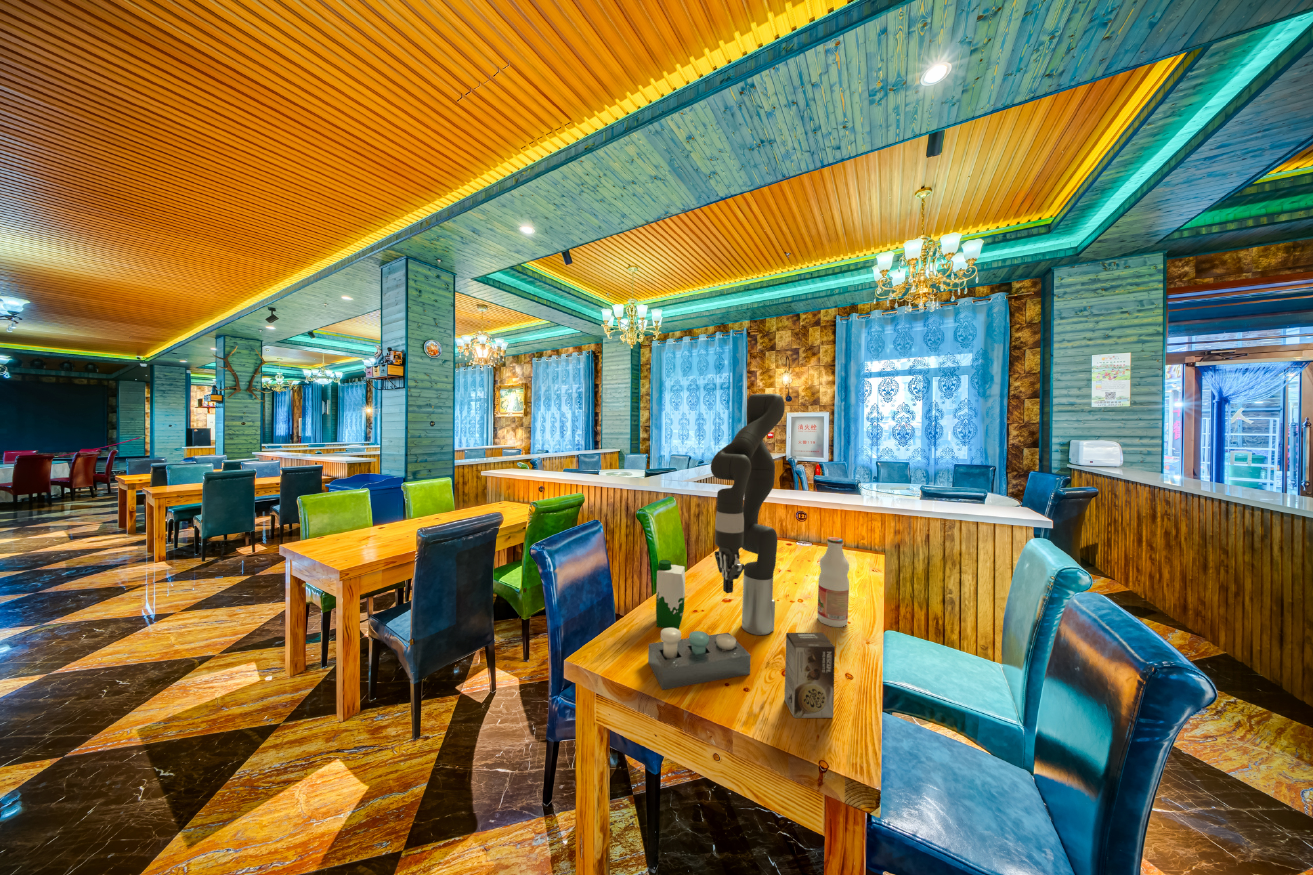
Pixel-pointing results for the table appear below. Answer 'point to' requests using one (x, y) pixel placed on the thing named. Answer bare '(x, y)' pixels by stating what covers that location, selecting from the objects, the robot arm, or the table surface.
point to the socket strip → (697, 663)
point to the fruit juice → (833, 585)
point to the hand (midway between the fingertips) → (728, 591)
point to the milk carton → (670, 595)
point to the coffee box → (809, 675)
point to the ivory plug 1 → (670, 642)
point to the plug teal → (698, 642)
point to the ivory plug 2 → (725, 642)
